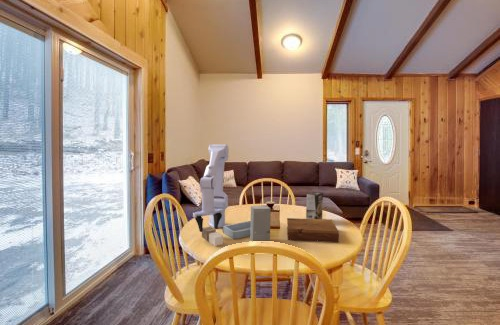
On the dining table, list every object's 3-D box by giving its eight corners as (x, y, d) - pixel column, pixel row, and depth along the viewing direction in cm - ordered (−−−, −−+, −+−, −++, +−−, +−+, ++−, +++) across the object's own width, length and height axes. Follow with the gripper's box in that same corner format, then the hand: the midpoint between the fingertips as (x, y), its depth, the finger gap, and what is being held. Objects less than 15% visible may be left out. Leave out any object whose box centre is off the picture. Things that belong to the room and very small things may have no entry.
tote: (223, 232, 140) (223, 226, 139) (253, 226, 149) (253, 220, 149) (233, 239, 130) (233, 232, 130) (265, 232, 140) (265, 225, 140)
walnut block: (201, 236, 134) (201, 227, 134) (210, 235, 137) (210, 226, 136) (206, 240, 129) (206, 231, 129) (215, 239, 132) (215, 229, 131)
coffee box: (316, 224, 154) (316, 195, 152) (305, 221, 158) (306, 193, 156) (322, 220, 161) (323, 192, 159) (312, 218, 165) (312, 191, 163)
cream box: (209, 242, 128) (208, 233, 127) (216, 240, 130) (216, 232, 129) (214, 246, 123) (214, 237, 122) (222, 244, 125) (222, 235, 124)
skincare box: (253, 243, 125) (253, 209, 124) (249, 238, 132) (249, 205, 131) (271, 242, 127) (271, 208, 126) (266, 236, 134) (266, 204, 133)
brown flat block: (287, 241, 129) (287, 229, 129) (287, 228, 148) (287, 218, 147) (338, 243, 127) (338, 231, 126) (331, 230, 145) (331, 219, 145)
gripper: (196, 205, 124) (197, 235, 125) (225, 201, 132) (225, 229, 133) (191, 202, 130) (191, 230, 131) (219, 199, 138) (219, 225, 139)
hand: (208, 230), depth 132 cm, fingers open, 7 cm apart
